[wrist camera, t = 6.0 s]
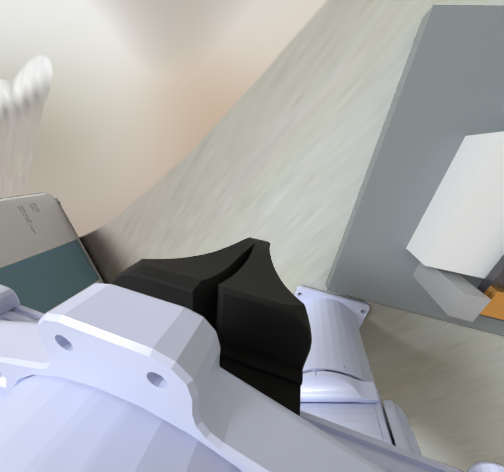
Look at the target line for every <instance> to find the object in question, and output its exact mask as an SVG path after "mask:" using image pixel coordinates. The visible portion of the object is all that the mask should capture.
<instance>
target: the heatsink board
mask: <svg viewBox="0 0 504 472" xmlns="http://www.w3.org/2000/svg"><path fill="white" fill-rule="evenodd" d="M503 255H504V6H485V5H433V7H432V8H431V9H430V10H429V11H428V12H427V14H426V15H425V16H424V17H423V19H422V22H421V24H420V27H419V30H418V33H417V35H416V38H415V41H414V44H413V46H412V49H411V52H410V55H409V57H408V60H407V63H406V66H405V68H404V71H403V74H402V77H401V79H400V82H399V85H398V88H397V90H396V93H395V96H394V99H393V101H392V104H391V107H390V110H389V112H388V115H387V118H386V121H385V123H384V126H383V129H382V132H381V134H380V137H379V140H378V143H377V145H376V148H375V151H374V154H373V156H372V159H371V162H370V165H369V167H368V170H367V173H366V176H365V178H364V181H363V184H362V187H361V189H360V192H359V195H358V198H357V200H356V203H355V206H354V209H353V211H352V214H351V217H350V220H349V222H348V225H347V228H346V231H345V233H344V236H343V239H342V242H341V244H340V247H339V250H338V253H337V255H336V258H335V261H334V264H333V266H332V269H331V272H330V275H329V277H328V280H327V283H326V285H327V290H329V291H332V292H336V293H340V294H344V295H348V296H352V297H355V298H359V299H363V300H367V301H371V302H375V303H378V304H382V305H386V306H390V307H394V308H398V309H401V310H405V311H409V312H413V313H417V314H421V315H424V316H428V317H432V318H436V319H440V320H443V321H447V322H451V323H455V324H459V325H463V326H466V327H470V328H474V329H478V330H482V331H486V332H489V333H493V334H497V335H501V336H504V321H500V320H496V319H492V318H488V317H484V316H480V315H479V314H480V313H481V312H482V310H483V309H484V308H485V307H486V306H487V305H488V303H489V302H490V301H491V299H490V298H489V297H487V296H486V295H485V294H483V293H482V292H481V291H480V290H478V289H477V288H478V286H479V285H480V284H481V283H482V281H483V280H484V279H485V278H486V276H487V275H488V274H489V273H490V271H491V270H492V269H493V268H494V266H495V265H496V264H497V262H498V261H499V260H500V259H501V257H502V256H503Z"/></svg>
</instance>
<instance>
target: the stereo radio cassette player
mask: <svg viewBox="0 0 504 472" xmlns="http://www.w3.org/2000/svg"><path fill="white" fill-rule="evenodd" d="M95 283H102V284H104V282H103V280H102V278H101V276H100V275H99V273H98V271H97V269H96V267H95V266H94V264H93V262H92V260H91V259H90V257H89V255H88V253H87V251H86V250H85V248H84V246H83V244H82V242H81V241H80V239H79V237H78V235H77V234H76V232H75V230H74V228H73V226H72V225H71V223H70V221H69V219H68V217H67V216H66V214H65V212H64V210H63V209H62V207H61V205H60V202H59V201H58V200H57V199H56V198H53V196H52V195H51V194H48V193H36V194H29V195H22V196H15V197H8V198H1V199H0V284H1V285H3V286H6V287H9V288H10V289H12V290H13V291H14V292H15V293H16V295H17V296H18V298H19V301H20V305H22V306H25V307H28V308H30V309H33V310H36V311H38V312H41V313H44V314H46V313H47V312H49V311H51V310H52V309H54V308H55V307H57V306H59V305H60V304H62V303H64V302H65V301H67V300H69V299H70V298H72V297H73V296H75V295H77V294H78V293H80V292H82V291H83V290H85V289H87V288H88V287H90V286H91V285H93V284H95Z"/></svg>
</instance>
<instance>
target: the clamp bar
mask: <svg viewBox="0 0 504 472" xmlns="http://www.w3.org/2000/svg"><path fill="white" fill-rule="evenodd" d="M477 289H478V290H480V291H481V292H482V293H483V294H485V295H486V296H487V297H489V298H490V299H491V301H490V302H489V303H488V305H487V306H486V307H485V308H484V309H483V310H482V312H481V313H480V314H479V315H480V316H484V317H488V318H492V319H496V320H500V321H504V255H503V256H502V257H501V259H500V260H499V261H498V262H497V264H496V265H495V266H494V268H493V269H492V270H491V271H490V273H489V274H488V275H487V276H486V278H485V279H484V280H483V281H482V283H481V284H480V285H479V286H478V288H477Z"/></svg>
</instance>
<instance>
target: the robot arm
mask: <svg viewBox="0 0 504 472" xmlns="http://www.w3.org/2000/svg"><path fill="white" fill-rule="evenodd" d="M269 248H270V243H269V242H267V241H262V240H258V239H254V238H247V239H244V240H242V241H240V242H238V243H236V244H234V245H231V246H229V247H226V248H224V249H221V250H218V251H215V252H212V253H208V254H204V255H199V256H193V257H187V258H177V259H141V260H140V261H138V262H137V263H135V264H134V265H132V266H131V267H129V268H128V269H126V270H124V271H123V272H121V273H120V274H118V275H117V276H116V277H115V278H114V279H113V280H112V284H102V283H95V284H93V285H91V286H90V287H88V288H87V289H85V290H83V291H82V292H80V293H78V294H77V295H75V296H73V297H72V298H70V299H69V300H67V301H65V302H64V303H62V304H60V305H59V306H57V307H55V308H54V309H52V310H51V311H49V312H47V313H46V314H44V313H41V312H38V311H36V310H33V309H30V308H28V307H25V306H22V305H20V301H19V298H18V296H17V295H16V293H15V292H14V291H13V290H12V289H10V288H9V287H6V286H3V285H1V284H0V472H464V471H461V470H458V469H456V468H453V467H450V466H448V465H445V464H442V463H440V462H437V461H434V460H432V459H429V458H426V457H424V456H422V454H421V451H420V449H419V446H418V444H417V441H416V439H415V436H414V433H413V431H412V428H411V426H410V423H409V421H408V418H407V416H406V414H405V412H404V411H403V410H402V409H401V408H400V407H398V406H397V405H395V403H394V402H393V401H392V400H383V402H384V405H383V402H382V400H381V397H380V395H379V392H378V390H377V387H376V384H375V380H374V377H373V374H372V371H371V367H370V364H369V361H368V357H367V354H366V351H365V348H364V344H363V341H362V338H361V335H360V331H359V329H360V327H361V325H362V323H363V321H364V319H365V317H366V315H367V313H368V311H369V309H370V307H369V305H368V304H367V303H365V302H361V301H357V300H353V299H349V298H346V297H342V296H338V295H334V294H330V293H327V292H323V291H319V290H315V289H311V288H308V287H304V286H298V287H297V289H296V293H295V296H294V295H293V294H292V293H291V292H290V291H289V290H288V289H287V288H286V286H285V285H284V284H283V282H282V281H281V280H280V278H279V276H278V275H277V273H276V271H275V268H274V266H273V263H272V260H271V256H270V251H269ZM298 293H302V294H298ZM361 310H364V311H361ZM384 406H385V408H384ZM467 472H504V466H503V465H500V464H497V463H493V462H479V463H476V464H474V465H473V466H471V467H470V469H469V470H468V471H467Z"/></svg>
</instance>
